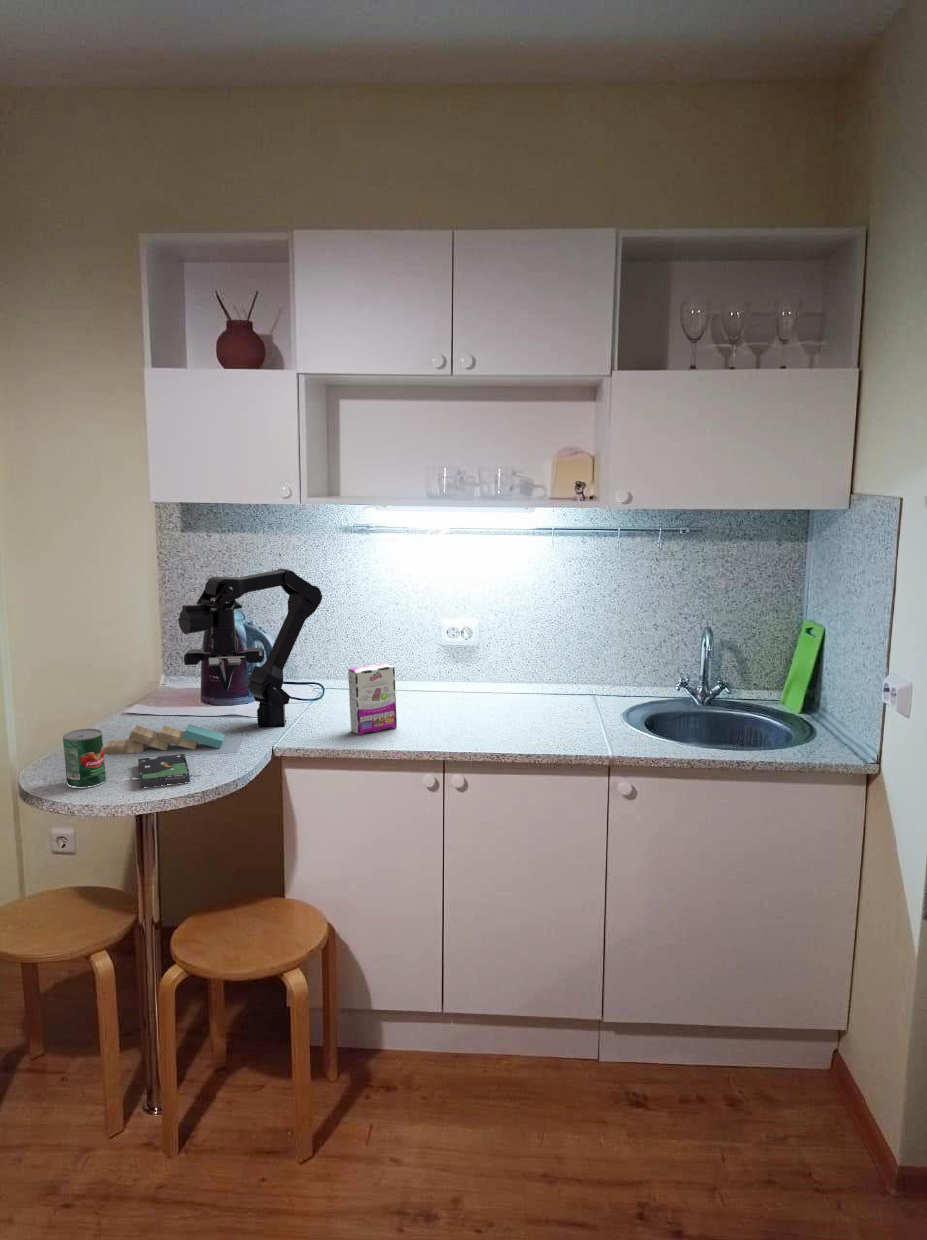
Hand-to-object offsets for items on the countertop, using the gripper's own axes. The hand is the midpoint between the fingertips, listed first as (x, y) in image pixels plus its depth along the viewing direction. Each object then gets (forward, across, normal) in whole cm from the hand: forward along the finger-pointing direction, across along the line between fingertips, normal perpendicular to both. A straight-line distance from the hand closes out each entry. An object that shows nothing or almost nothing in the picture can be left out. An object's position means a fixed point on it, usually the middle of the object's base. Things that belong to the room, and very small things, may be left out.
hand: (226, 690), depth 232 cm
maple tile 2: (+10, +6, +9) cm, 15 cm away
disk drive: (+13, +10, +27) cm, 32 cm away
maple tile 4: (+10, +18, +9) cm, 23 cm away
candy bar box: (+12, -36, -1) cm, 38 cm away
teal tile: (+11, 0, +9) cm, 14 cm away
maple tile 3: (+11, +13, +9) cm, 19 cm away
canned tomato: (+12, +26, +30) cm, 42 cm away
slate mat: (+12, +8, +9) cm, 17 cm away
